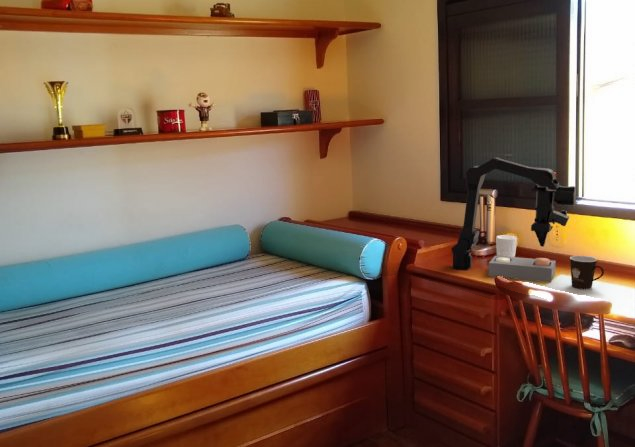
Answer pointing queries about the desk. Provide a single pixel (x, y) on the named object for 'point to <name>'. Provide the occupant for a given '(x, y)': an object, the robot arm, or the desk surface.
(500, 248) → the white cup
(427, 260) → the desk surface
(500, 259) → the white short cylinder
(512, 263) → the grey rectangular block
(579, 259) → the coffee mug
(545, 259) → the terracotta button
